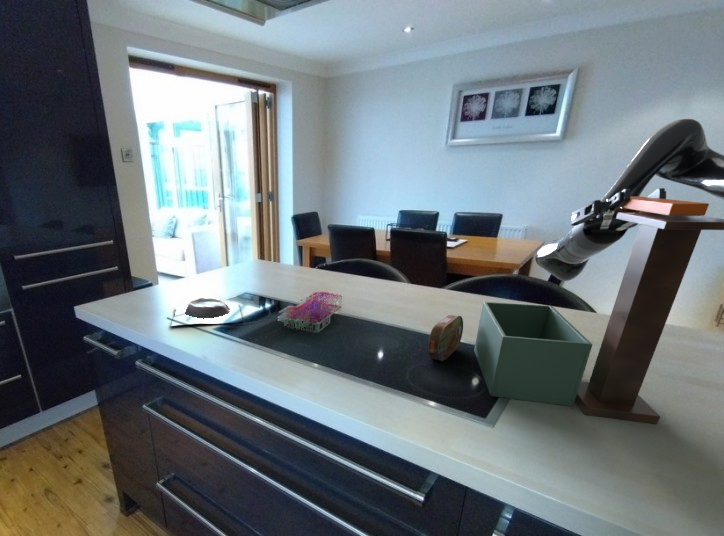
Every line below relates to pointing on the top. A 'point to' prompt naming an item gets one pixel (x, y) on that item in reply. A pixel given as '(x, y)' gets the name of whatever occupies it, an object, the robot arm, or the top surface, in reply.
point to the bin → (530, 353)
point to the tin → (445, 337)
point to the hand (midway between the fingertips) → (644, 193)
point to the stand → (641, 314)
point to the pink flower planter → (311, 310)
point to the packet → (666, 206)
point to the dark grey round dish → (207, 308)
